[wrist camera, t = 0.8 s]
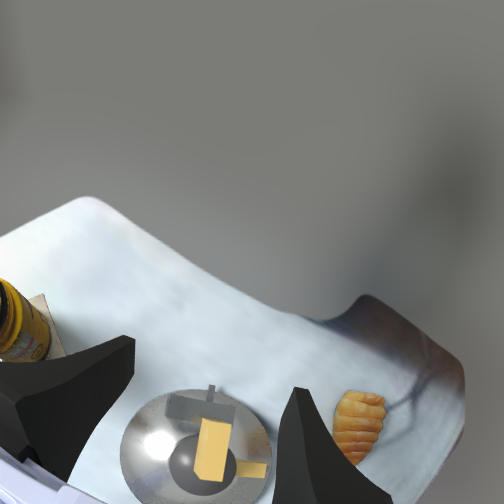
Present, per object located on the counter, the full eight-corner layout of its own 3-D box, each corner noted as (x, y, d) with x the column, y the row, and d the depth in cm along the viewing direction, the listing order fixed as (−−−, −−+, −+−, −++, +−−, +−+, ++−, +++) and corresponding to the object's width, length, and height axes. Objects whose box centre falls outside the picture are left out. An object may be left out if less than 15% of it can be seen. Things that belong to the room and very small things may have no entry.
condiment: (42, 293, 26) (2, 242, 16) (73, 370, 24) (36, 359, 14) (-11, 318, 22) (-69, 278, 12) (17, 395, 21) (-42, 394, 11)
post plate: (256, 523, 23) (268, 534, 20) (112, 506, 19) (110, 518, 16) (278, 396, 30) (292, 396, 28) (136, 367, 27) (135, 364, 24)
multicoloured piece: (257, 494, 24) (278, 508, 19) (163, 484, 21) (169, 502, 17) (268, 425, 27) (291, 430, 23) (176, 411, 25) (183, 416, 21)
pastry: (361, 464, 30) (382, 467, 27) (318, 461, 29) (337, 466, 25) (376, 397, 35) (396, 394, 31) (336, 387, 33) (355, 385, 30)
